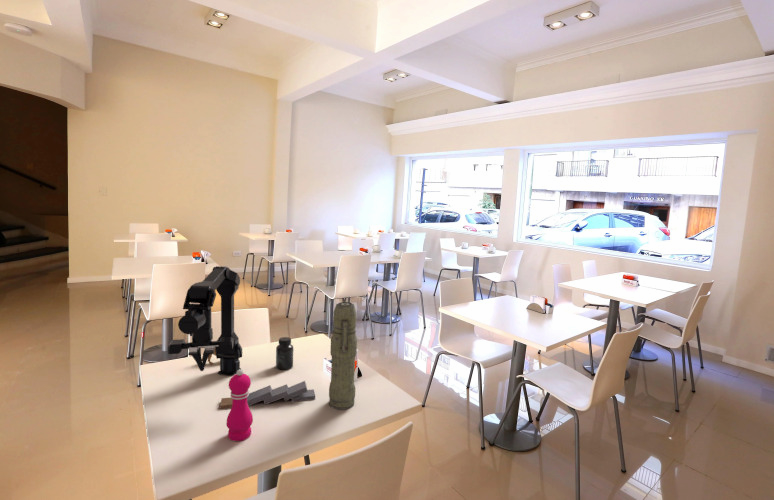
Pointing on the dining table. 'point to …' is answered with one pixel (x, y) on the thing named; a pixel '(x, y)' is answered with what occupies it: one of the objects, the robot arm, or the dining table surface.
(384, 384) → the dining table surface
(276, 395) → the domino
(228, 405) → the domino
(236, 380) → the pepper mill
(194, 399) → the dining table surface
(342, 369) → the thermos
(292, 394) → the domino
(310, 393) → the domino
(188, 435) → the dining table surface
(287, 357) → the supplement bottle
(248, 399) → the domino
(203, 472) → the dining table surface
